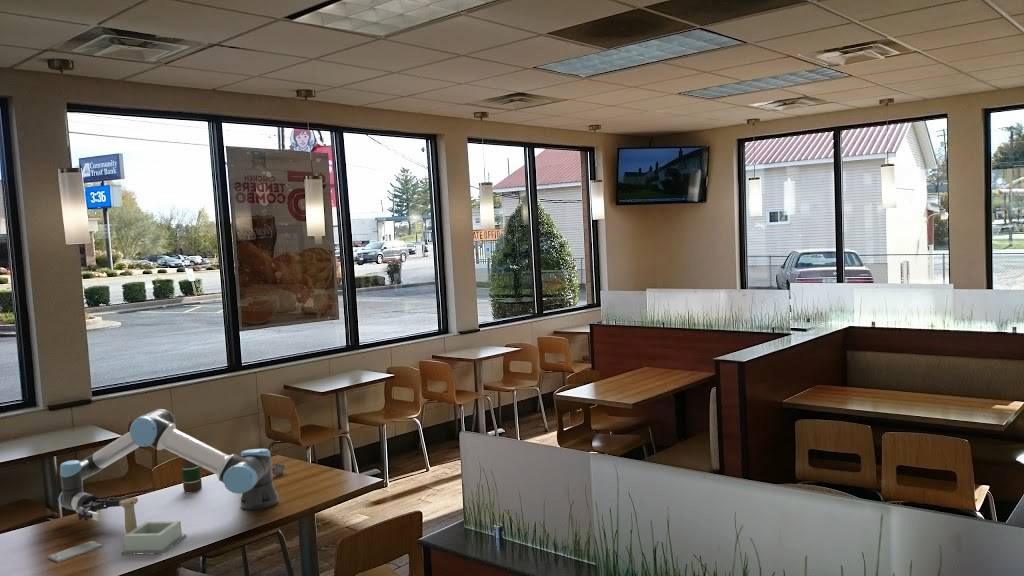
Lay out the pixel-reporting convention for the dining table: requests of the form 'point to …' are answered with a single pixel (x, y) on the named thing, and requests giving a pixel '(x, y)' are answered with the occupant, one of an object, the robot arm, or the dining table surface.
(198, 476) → the beer bottle
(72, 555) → the phone
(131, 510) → the handle
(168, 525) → the holder
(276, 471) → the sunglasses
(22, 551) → the dining table surface
